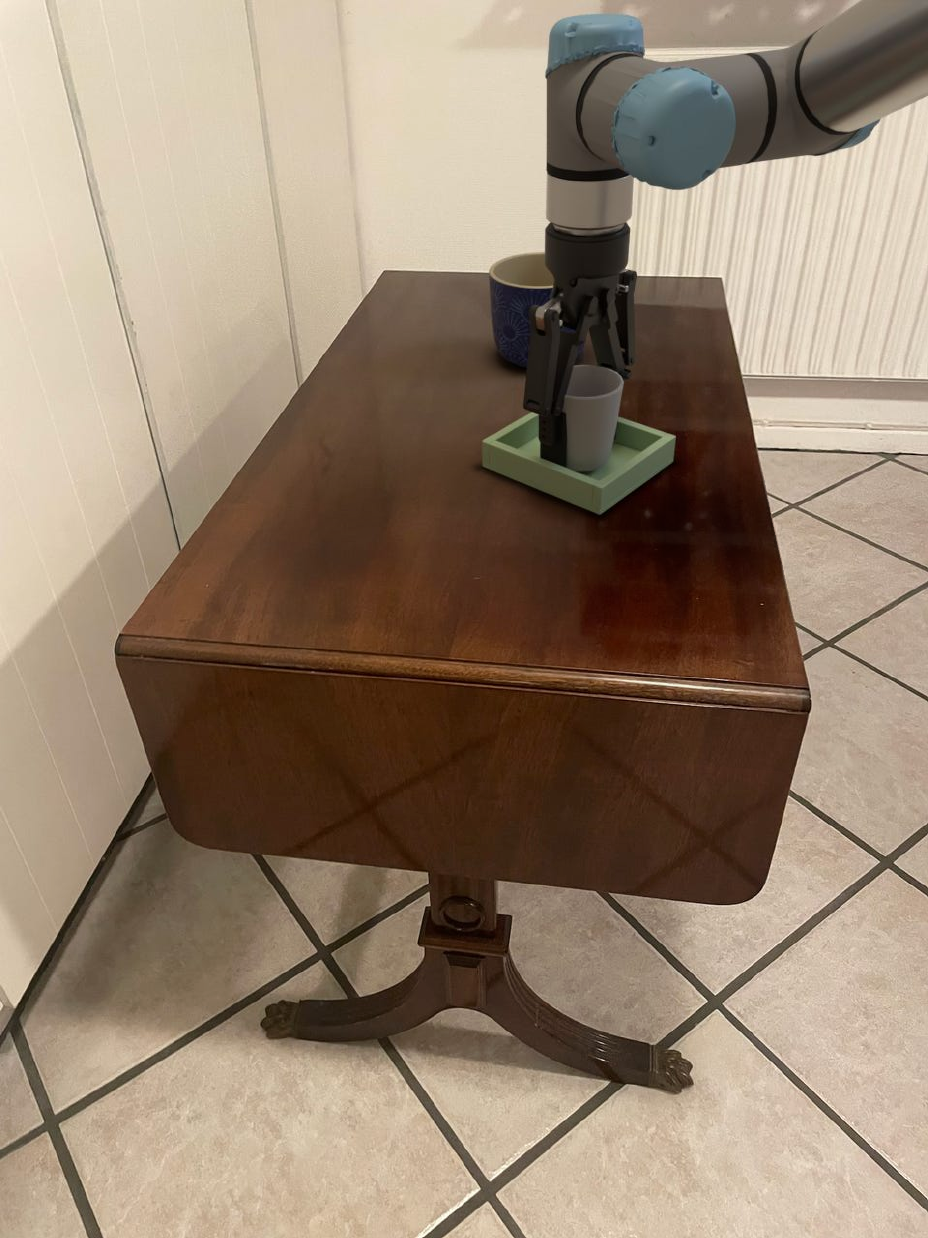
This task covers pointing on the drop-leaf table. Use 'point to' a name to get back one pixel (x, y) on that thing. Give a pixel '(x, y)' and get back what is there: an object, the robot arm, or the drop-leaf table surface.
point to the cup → (591, 416)
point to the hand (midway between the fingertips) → (578, 451)
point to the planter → (518, 302)
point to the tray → (595, 490)
